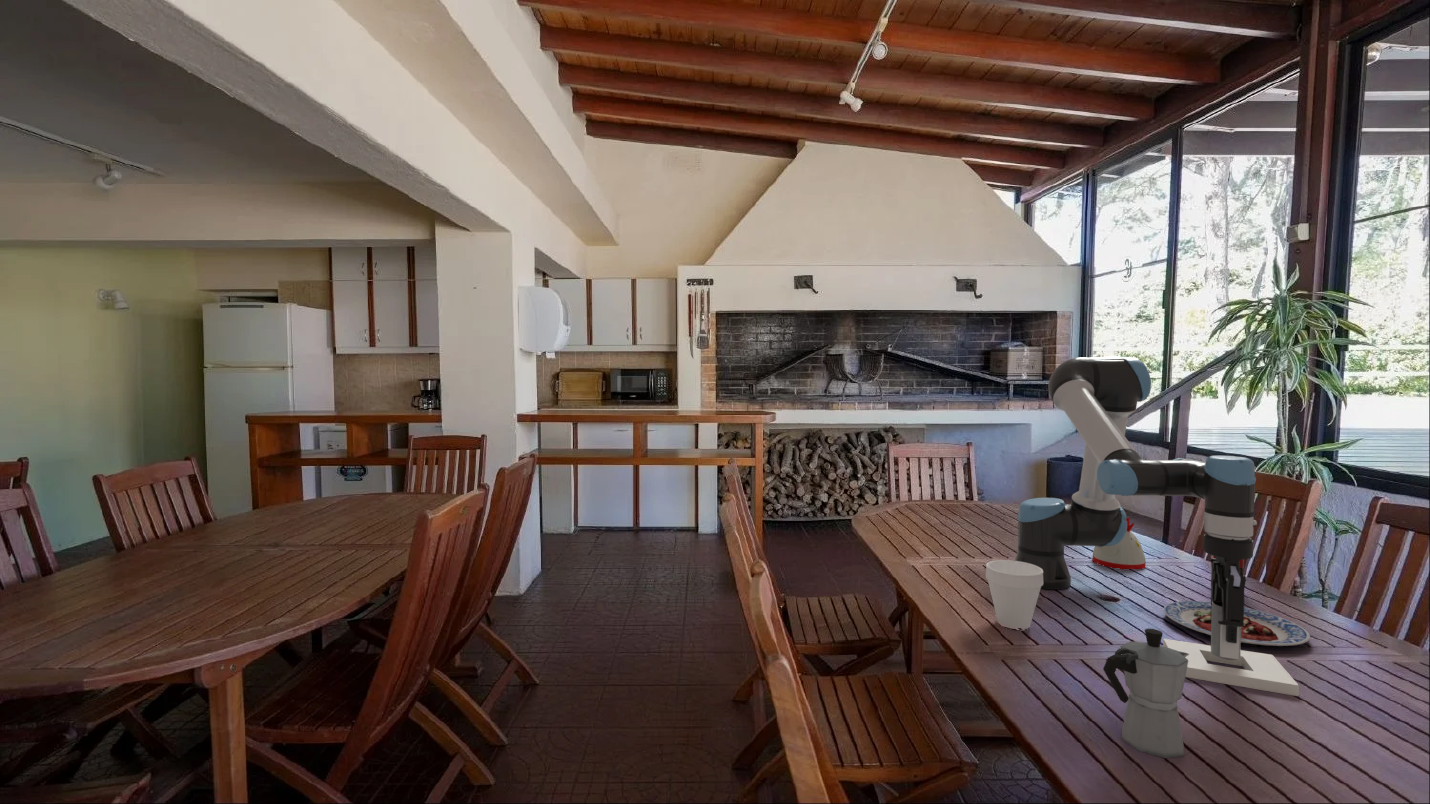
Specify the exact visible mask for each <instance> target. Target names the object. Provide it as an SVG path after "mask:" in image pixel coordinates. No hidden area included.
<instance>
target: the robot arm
mask: <svg viewBox="0 0 1430 804" xmlns="http://www.w3.org/2000/svg"><path fill="white" fill-rule="evenodd" d="M1047 388H1048V394H1049V397H1050V400H1051V401H1052V403H1053V404H1054V406H1056V408H1057V409H1059V410H1060V411H1063V412H1064V413H1065V414H1066V416H1067V417H1068V419H1069V420H1070V422H1071V423H1072V425H1073V426H1074V428H1075V429H1076V431H1077V432H1078V433H1079V435H1080V436H1081V438H1082V440H1083V441H1084V443H1085V447H1084V454H1083V460H1082V468H1081V474H1080V481H1079V488H1078V491H1076V492H1074V493H1072V495H1071V500H1070V503H1065V501H1064V500H1063V499H1060V498H1058V497H1057V498H1056V497H1035V498H1030V499H1025V500H1024V501H1022V502H1021V503H1019V506H1018V515H1017V553H1016V556H1015V559H1014V561H1020V562H1025V563H1029V564H1033V565H1036V566H1038V567H1040V568H1041V569H1042V570H1043V583H1044V584H1043V586H1041V588H1042V589H1043V590H1064V589H1065V590H1066V589H1067V588H1070V587H1071V583H1072V582H1071V581H1072V578H1071V574H1070V571H1069V568H1068V564H1067V562H1066V559H1065V554H1064V553H1065V546H1066V547H1067V546H1069V547H1070V546H1072V547H1073V546H1075V547H1078V546H1079V547H1080V546H1081V547H1095V546H1097V547H1103V546H1113V545H1116V544H1118V543H1120V542H1121V541H1122V539H1123V538H1124V536H1125V534H1126V530H1127V521H1126V519H1127V518H1128V517H1127V513H1126V511H1125V510H1124V508H1123V507H1122V506H1121V503H1120V502H1119V500H1118V499H1117V498H1116V495H1118V496H1121V497H1122V496H1124V497H1129V496H1130V497H1132V496H1159V497H1161V496H1163V497H1164V496H1165V497H1167V496H1168V497H1195V498H1199V499H1203V500H1204V510H1203V531H1205V533H1204V534H1203V552H1205V553H1206V554H1208V555H1210V556H1211V555H1213V556H1216V558H1211V557H1210V558H1211V559H1210V569H1211V568H1212V575H1211V574H1210V601H1209V602H1210V603H1211V606H1212V601H1214V600H1222V614H1223V620H1222V621H1218V624H1221V632H1220V656H1221V657H1226V658H1232V659H1238V660H1239V627H1243V625H1244V623H1243V621H1244V607H1245V587H1246V581H1247V578H1246V576H1244V569H1243V568H1242V567H1240V563H1239V561H1240V560H1242V559H1244V561H1245V560H1250V559H1252V558H1253V557H1254V540H1253V539H1252V537H1253V536H1254V526H1257V525H1258V521H1257V520H1256V519H1254V513H1255V495H1256V494H1255V493H1256V481H1257V478H1256V474H1255V472H1256V471H1255V470H1256V468H1255V463H1254V461H1253V460H1252V459H1250V458H1248V457H1244V456H1243V457H1242V456H1235V455H1210V456H1207V457H1206V459H1205V461H1202V460H1196V459H1195V458H1183V457H1178V458H1174V459H1166V460H1165V459H1164V460H1163V459H1161V460H1160V459H1159V460H1158V459H1143V458H1142V457H1141V455H1140V454H1139V453H1138V452H1137V451H1136V449H1135V448H1134V447H1133V445H1132V444H1131V442H1130V441H1129V440H1128V439H1127V437H1126V432H1127V424H1128V418H1129V416H1130V415H1131V414H1133V413H1135V412H1136V410H1137V407H1138V405H1137V404H1138V403H1141V402H1143V401H1146V400H1147V398H1148V397H1149V396H1150V395H1151V390H1152V380H1151V375H1150V371H1149V370H1148V368H1147V366H1146V365H1145V364H1144V362H1143V361H1141V360H1140V359H1139V358H1137V357H1129V356H1095V357H1085V356H1084V357H1081V356H1080V357H1079V356H1078V357H1073V358H1069V359H1067V360H1065V361H1063V362H1062V363H1060V364H1059V365H1058V366H1057V367H1056V368H1055V369H1054V370H1053V372H1052V373H1051V375H1050V377H1049V380H1048V387H1047Z"/></svg>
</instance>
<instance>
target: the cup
mask: <svg viewBox="0 0 1430 804" xmlns="http://www.w3.org/2000/svg"><path fill="white" fill-rule="evenodd" d="M985 567H986V569H985V579H986V580H987V581H988V586H989V589H990V594H991V599H992V603H993V607H994V612H995V616H996V620H997V621H996V622H997V623H998V622H1000V623H1001V624H1003V625H1005V626H1008V627H1012V628H1022V629H1025V628H1028V627H1030V628H1031V624H1032V620H1033V617H1034V614H1035V610H1036V607H1037V602H1038V599H1039V595H1040V591H1041V586H1043V584H1044V583H1043V570H1042V569H1041V568H1040V567H1038V566H1036V565H1033V564H1029V563H1025V562H1020V561H1015V560H1011V559H1010V560H1009V559H999V560H998V559H996V560H990V561H988V562H987V563H986V564H985Z"/></svg>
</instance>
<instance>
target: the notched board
mask: <svg viewBox="0 0 1430 804" xmlns="http://www.w3.org/2000/svg"><path fill="white" fill-rule="evenodd" d="M1162 640H1163V645H1162V646H1164V647H1167V648H1170V649H1174V650H1177V651H1179V652H1184V653H1188V654H1189V655H1188V656H1186V657H1185V658H1186V659H1188V665H1187V671H1186V676H1185V678H1188V679H1190V678H1191V679H1195V680H1199V681H1200V680H1201V681H1207V682H1213V683H1219V684H1225V685H1230V686H1235V687H1241V688H1247V689H1254V690H1260V691H1265V692H1271V693H1275V694H1277V693H1278V694H1284V695H1288V696H1294V697H1299V696H1300V695H1299V694H1300V685H1299V684H1298V682H1296V680H1295V679H1294V677H1292V676H1291V675H1290V673H1289V672H1288V671H1287V670H1286V668H1284V666H1283V665H1282V664H1281V663H1280V662H1279V661H1278V660H1277V659H1276V657H1275V656H1274V655H1273V654H1270V653H1269V654H1268V653H1263V652H1258V651H1257V652H1255V651H1249V650H1242V649H1241V654H1240V659H1239V660H1228V659H1223V658H1220V657H1217V656H1215V655H1213V654H1212V653H1211V644H1209V645H1208V644H1202V643H1195V642H1189V641H1181V640H1174V639H1168V638H1163V639H1162ZM1208 662H1212V663H1213V662H1214V663H1220V664H1226V665H1232V666H1237V667H1243V668H1237V667H1229V666H1225V665H1218V664H1211V663H1208Z"/></svg>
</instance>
